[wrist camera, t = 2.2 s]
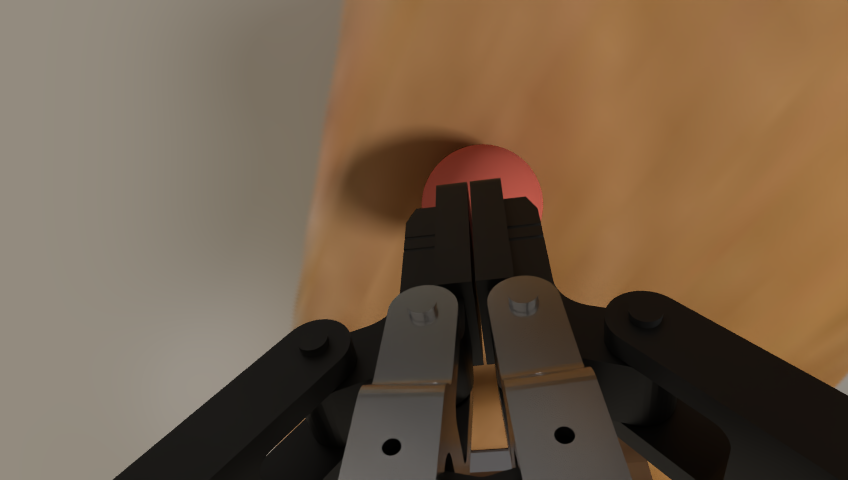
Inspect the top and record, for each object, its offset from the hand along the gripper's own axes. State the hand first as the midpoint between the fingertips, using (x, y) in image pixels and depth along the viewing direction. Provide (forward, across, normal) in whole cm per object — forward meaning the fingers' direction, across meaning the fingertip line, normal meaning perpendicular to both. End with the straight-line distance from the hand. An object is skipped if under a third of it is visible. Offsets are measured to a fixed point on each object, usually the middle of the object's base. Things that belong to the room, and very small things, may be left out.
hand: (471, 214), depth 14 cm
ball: (+14, 0, +9) cm, 16 cm away
